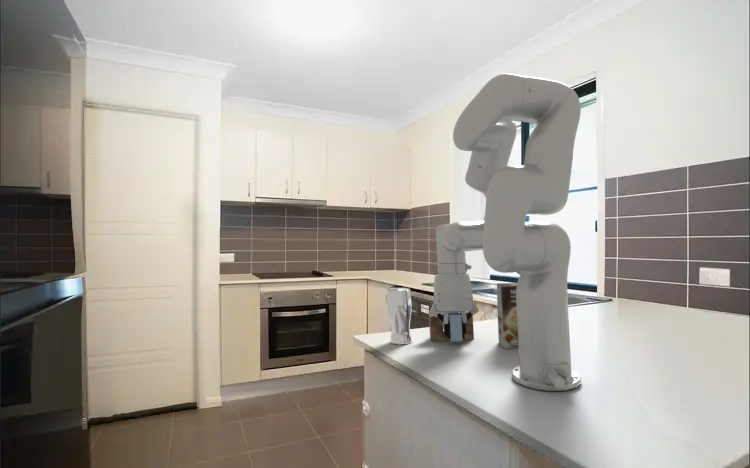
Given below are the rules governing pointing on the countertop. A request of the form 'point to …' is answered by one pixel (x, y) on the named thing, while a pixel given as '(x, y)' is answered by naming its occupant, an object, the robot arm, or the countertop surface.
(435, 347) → the countertop surface
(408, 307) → the beer glass
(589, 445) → the countertop surface
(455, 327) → the pale blue tapered slab
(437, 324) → the brown wooden u-shaped block
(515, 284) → the coffee box
